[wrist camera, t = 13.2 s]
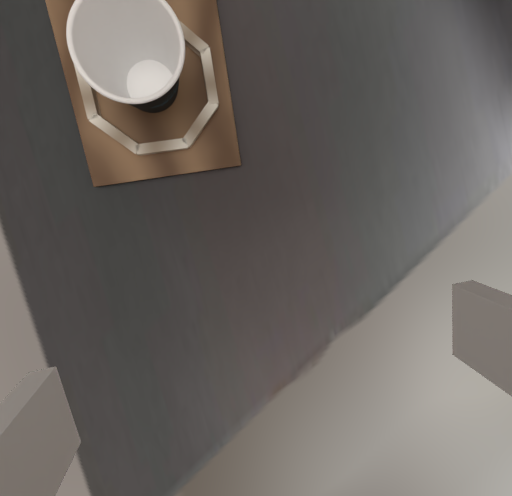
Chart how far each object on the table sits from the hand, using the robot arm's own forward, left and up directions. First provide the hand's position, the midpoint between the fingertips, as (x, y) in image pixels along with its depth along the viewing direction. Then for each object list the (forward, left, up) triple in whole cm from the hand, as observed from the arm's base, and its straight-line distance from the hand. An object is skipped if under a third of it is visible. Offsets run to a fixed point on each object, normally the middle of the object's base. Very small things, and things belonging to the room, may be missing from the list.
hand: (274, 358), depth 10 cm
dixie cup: (+5, -16, -28) cm, 32 cm away
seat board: (+5, -16, -29) cm, 33 cm away
